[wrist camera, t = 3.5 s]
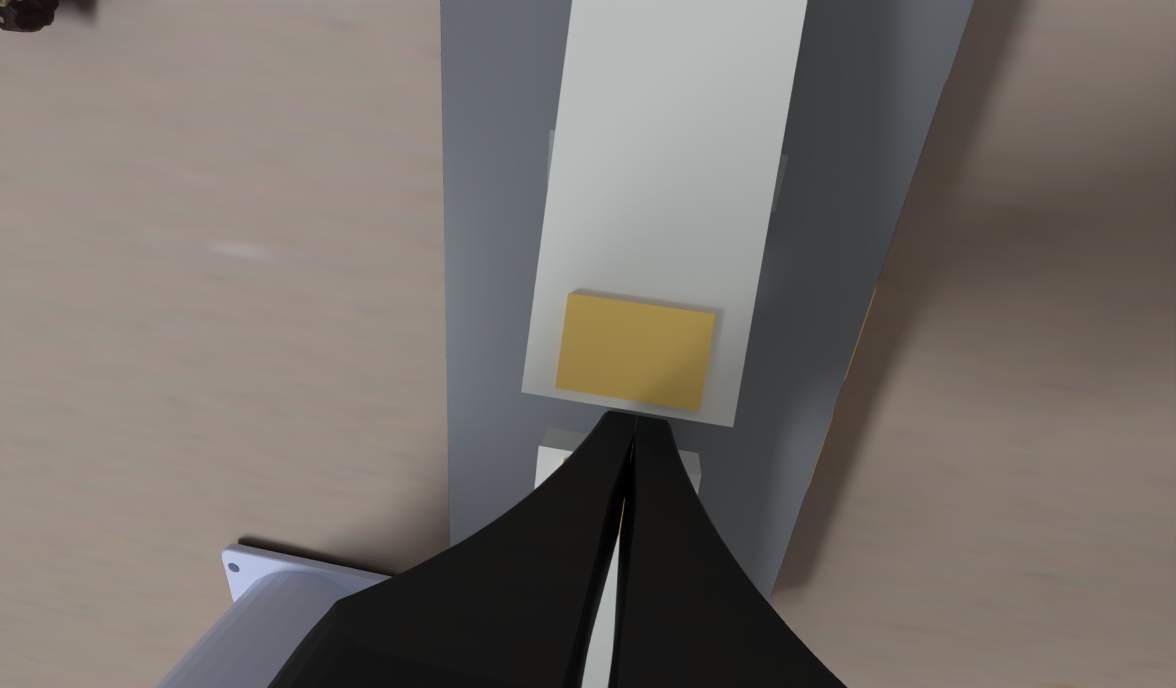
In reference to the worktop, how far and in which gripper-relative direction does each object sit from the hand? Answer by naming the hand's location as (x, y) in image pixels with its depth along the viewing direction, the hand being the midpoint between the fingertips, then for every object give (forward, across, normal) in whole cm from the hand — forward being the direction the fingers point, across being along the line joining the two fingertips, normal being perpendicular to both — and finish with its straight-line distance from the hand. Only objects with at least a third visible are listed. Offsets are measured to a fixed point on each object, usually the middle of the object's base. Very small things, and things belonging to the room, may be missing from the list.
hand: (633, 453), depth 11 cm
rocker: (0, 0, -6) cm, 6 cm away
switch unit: (+5, 0, -1) cm, 5 cm away
